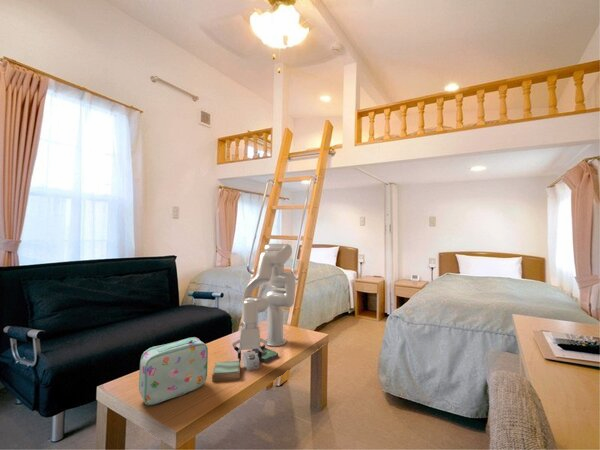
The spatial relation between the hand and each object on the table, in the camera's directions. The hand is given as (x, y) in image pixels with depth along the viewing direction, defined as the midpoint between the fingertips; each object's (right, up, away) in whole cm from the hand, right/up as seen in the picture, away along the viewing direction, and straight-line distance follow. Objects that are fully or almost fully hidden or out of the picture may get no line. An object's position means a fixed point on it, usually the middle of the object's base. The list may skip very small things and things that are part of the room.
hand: (249, 359), depth 144 cm
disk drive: (+5, -4, +11) cm, 13 cm away
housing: (0, -3, +1) cm, 4 cm away
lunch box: (-27, -3, -23) cm, 36 cm away
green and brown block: (-9, -3, -8) cm, 13 cm away
